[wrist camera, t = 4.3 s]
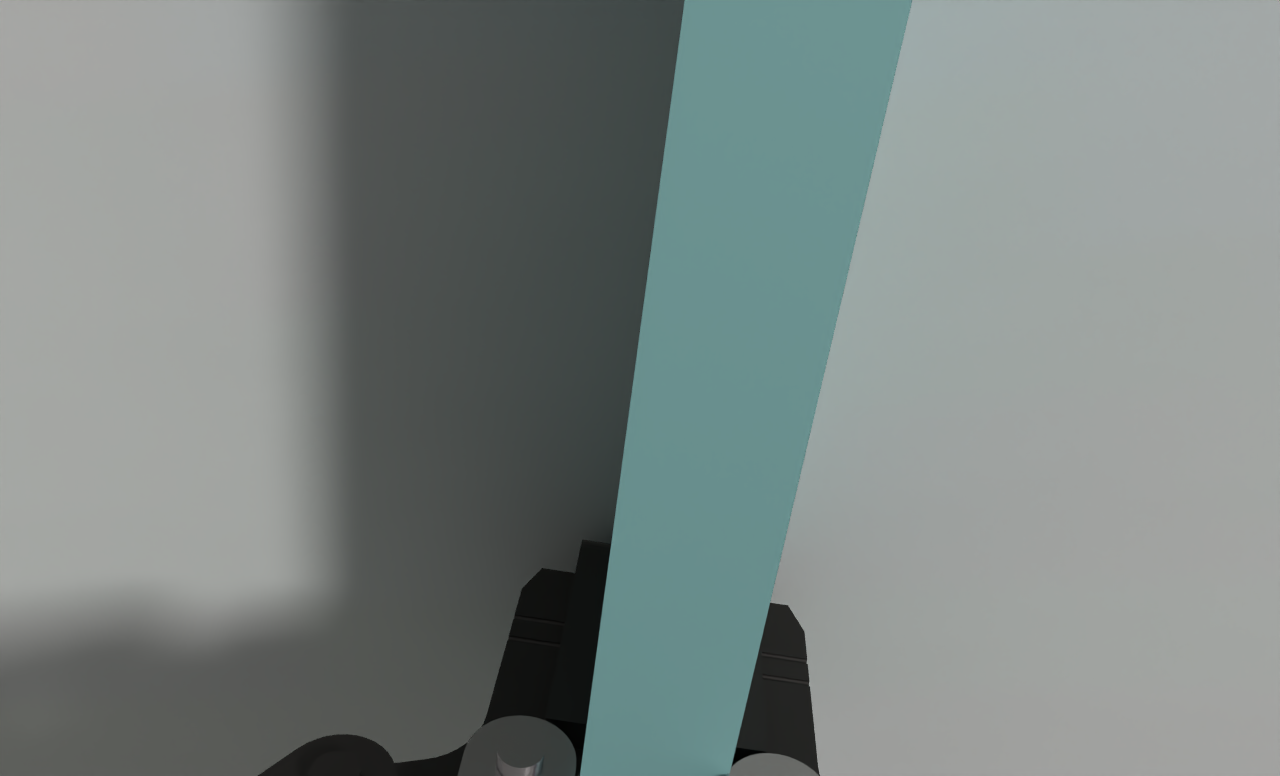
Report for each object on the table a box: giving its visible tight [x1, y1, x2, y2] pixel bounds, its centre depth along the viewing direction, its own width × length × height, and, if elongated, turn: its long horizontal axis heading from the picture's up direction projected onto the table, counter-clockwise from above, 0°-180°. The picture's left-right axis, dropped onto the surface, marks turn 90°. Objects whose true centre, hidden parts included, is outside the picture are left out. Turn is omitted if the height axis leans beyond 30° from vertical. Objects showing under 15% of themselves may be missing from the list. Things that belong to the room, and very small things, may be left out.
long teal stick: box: [580, 0, 912, 776], centre depth 9 cm, size 23×2×4 cm, turn 173°
